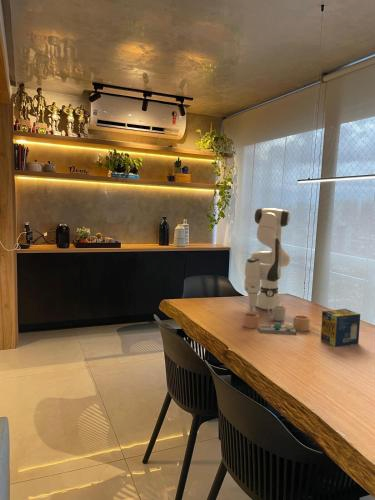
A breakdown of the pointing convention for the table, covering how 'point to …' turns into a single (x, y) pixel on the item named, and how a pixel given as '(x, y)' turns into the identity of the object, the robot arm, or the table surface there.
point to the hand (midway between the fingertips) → (251, 310)
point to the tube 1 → (251, 320)
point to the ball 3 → (288, 326)
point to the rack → (272, 330)
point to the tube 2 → (301, 323)
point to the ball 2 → (277, 325)
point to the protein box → (340, 327)
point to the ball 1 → (253, 310)
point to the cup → (278, 312)
